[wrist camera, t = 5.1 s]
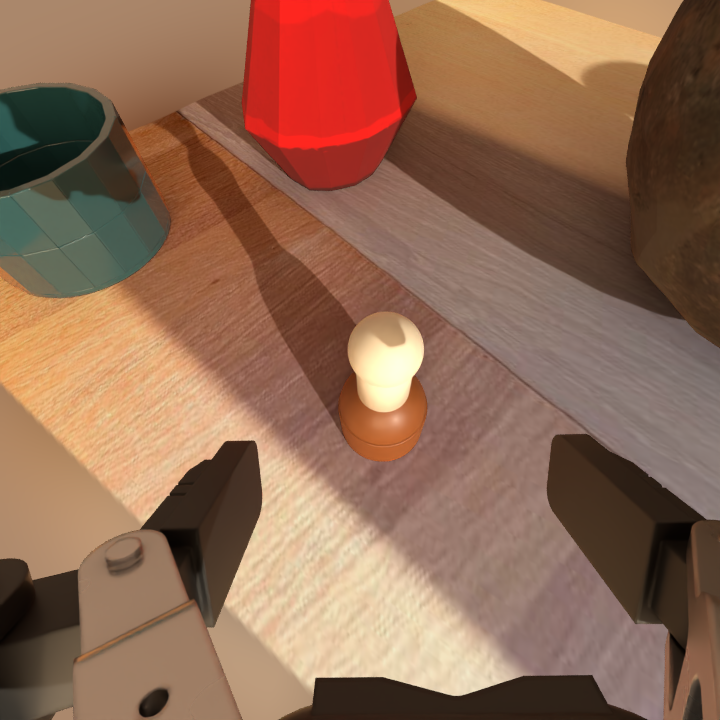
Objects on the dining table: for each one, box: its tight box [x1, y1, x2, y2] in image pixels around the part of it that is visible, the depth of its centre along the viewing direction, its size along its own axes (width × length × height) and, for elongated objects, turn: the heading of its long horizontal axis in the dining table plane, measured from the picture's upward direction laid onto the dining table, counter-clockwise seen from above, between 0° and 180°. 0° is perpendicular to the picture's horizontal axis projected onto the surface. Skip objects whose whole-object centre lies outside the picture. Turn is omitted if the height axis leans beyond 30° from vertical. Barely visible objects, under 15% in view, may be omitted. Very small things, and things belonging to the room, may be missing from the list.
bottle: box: [242, 0, 417, 191], centre depth 30 cm, size 16×14×20 cm
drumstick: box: [338, 312, 427, 461], centre depth 21 cm, size 5×5×11 cm
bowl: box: [0, 83, 171, 298], centre depth 31 cm, size 14×15×9 cm
